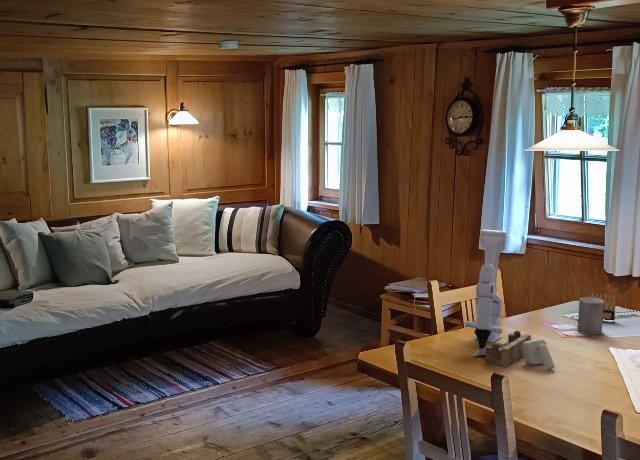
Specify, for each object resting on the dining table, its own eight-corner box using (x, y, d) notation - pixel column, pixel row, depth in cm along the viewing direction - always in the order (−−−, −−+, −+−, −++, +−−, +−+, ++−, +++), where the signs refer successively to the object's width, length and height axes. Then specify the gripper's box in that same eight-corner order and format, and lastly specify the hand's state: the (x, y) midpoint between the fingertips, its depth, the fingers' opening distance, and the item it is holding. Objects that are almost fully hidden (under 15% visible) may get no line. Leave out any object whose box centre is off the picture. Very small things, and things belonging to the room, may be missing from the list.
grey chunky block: (545, 371, 265) (542, 343, 266) (525, 369, 274) (522, 341, 275) (562, 368, 269) (559, 340, 269) (541, 366, 278) (539, 339, 279)
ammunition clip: (588, 320, 333) (590, 293, 331) (588, 318, 335) (590, 292, 333) (614, 322, 330) (616, 295, 328) (614, 321, 332) (616, 294, 330)
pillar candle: (581, 326, 323) (583, 292, 320) (604, 330, 317) (607, 296, 315) (574, 332, 315) (576, 297, 313) (598, 336, 310) (600, 301, 307)
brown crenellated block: (510, 348, 292) (511, 328, 291) (530, 352, 288) (531, 332, 286) (485, 363, 275) (486, 342, 273) (506, 368, 270) (507, 346, 269)
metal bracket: (517, 339, 286) (501, 349, 274) (520, 354, 286) (504, 364, 274) (483, 342, 295) (465, 351, 283) (486, 357, 295) (469, 367, 283)
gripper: (461, 312, 286) (460, 346, 288) (497, 319, 277) (495, 354, 280) (470, 308, 292) (468, 342, 294) (505, 315, 283) (503, 350, 285)
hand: (482, 348), depth 287 cm, fingers closed
